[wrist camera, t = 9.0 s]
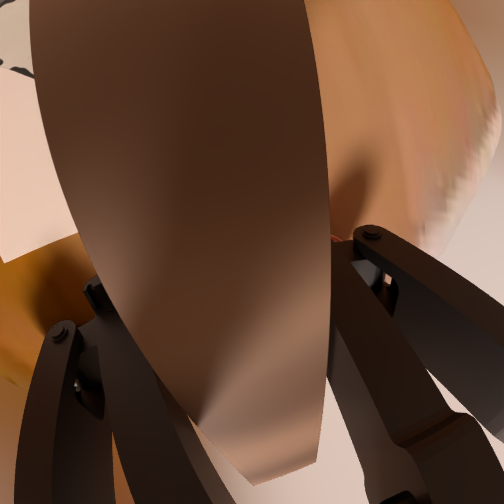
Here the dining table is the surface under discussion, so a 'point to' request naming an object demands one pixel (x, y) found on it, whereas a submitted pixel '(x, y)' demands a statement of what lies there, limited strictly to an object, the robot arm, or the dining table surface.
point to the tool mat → (27, 174)
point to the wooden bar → (202, 202)
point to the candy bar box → (15, 37)
